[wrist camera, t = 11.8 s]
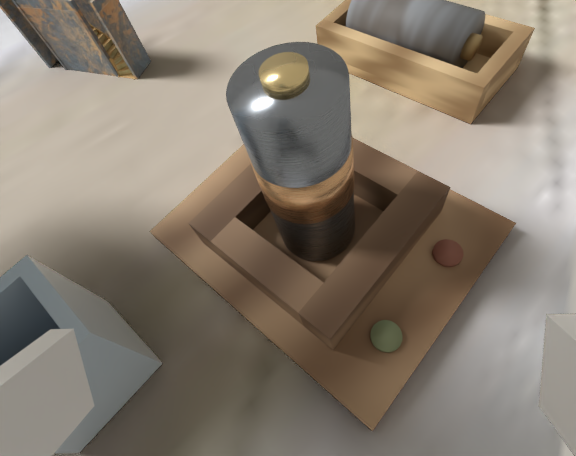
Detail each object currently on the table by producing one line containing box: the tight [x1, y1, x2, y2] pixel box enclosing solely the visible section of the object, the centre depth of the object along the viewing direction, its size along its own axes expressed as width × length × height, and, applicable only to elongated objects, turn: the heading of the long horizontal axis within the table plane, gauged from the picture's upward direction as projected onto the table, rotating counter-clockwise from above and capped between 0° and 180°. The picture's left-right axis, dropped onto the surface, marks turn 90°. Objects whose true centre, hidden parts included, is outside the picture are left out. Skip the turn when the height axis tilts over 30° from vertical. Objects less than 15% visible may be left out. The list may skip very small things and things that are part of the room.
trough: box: [316, 0, 535, 124], centre depth 29 cm, size 14×7×5 cm, turn 49°
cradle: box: [150, 138, 516, 431], centre depth 23 cm, size 18×14×4 cm
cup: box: [0, 255, 163, 454], centre depth 19 cm, size 6×6×7 cm
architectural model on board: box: [0, 0, 151, 80], centre depth 34 cm, size 11×3×10 cm, turn 70°
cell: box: [226, 42, 355, 261], centre depth 18 cm, size 5×5×12 cm
